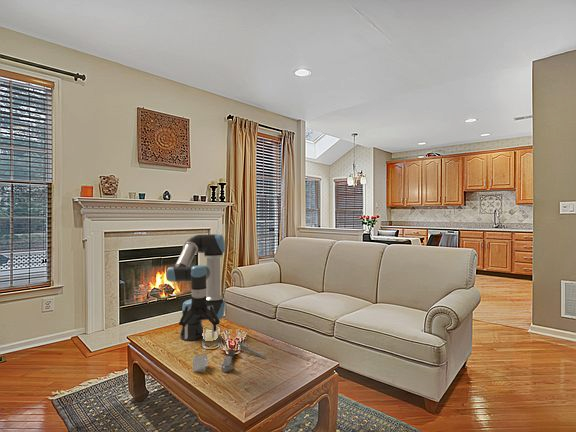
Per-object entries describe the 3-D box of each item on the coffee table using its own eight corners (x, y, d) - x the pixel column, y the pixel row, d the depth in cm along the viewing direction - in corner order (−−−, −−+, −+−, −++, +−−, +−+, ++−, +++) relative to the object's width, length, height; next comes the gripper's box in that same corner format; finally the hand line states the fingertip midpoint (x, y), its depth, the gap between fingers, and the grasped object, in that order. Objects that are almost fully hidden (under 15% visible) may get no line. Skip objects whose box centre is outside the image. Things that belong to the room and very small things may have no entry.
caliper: (236, 351, 196) (236, 340, 195) (238, 350, 196) (237, 339, 196) (265, 359, 185) (265, 348, 185) (267, 358, 186) (266, 347, 185)
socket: (195, 366, 177) (195, 354, 177) (207, 365, 178) (207, 354, 177) (193, 371, 171) (192, 359, 171) (205, 371, 172) (204, 359, 171)
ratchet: (232, 372, 170) (231, 359, 170) (220, 372, 170) (220, 360, 170) (237, 353, 192) (237, 342, 192) (227, 353, 192) (227, 342, 192)
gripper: (172, 298, 169) (172, 341, 170) (222, 298, 170) (223, 340, 170) (176, 294, 177) (177, 335, 177) (225, 294, 177) (225, 334, 178)
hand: (199, 338), depth 174 cm, fingers open, 13 cm apart
